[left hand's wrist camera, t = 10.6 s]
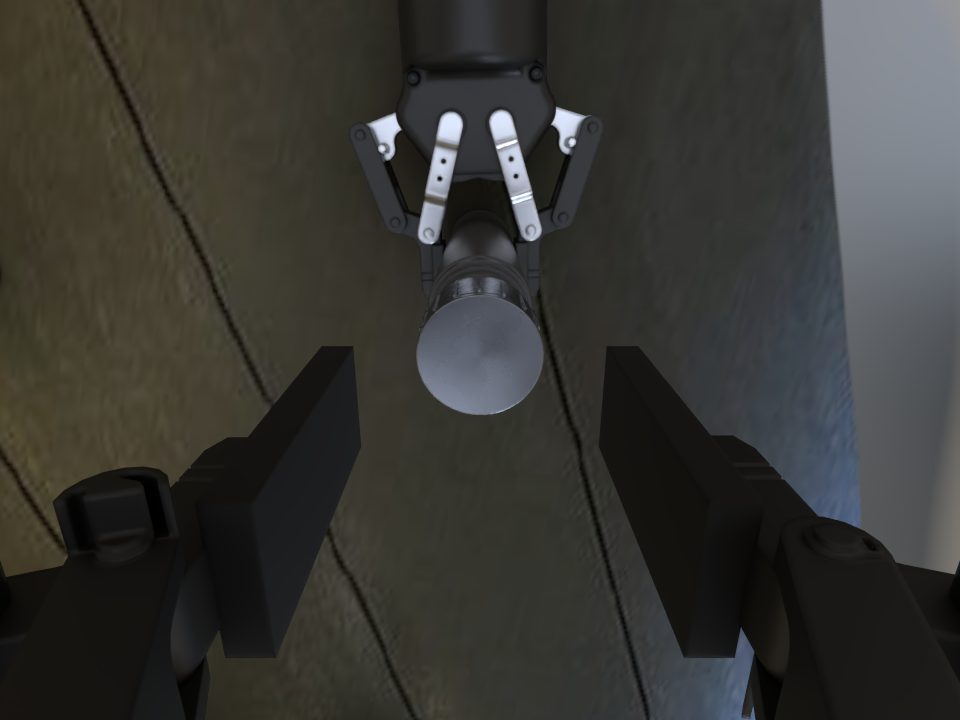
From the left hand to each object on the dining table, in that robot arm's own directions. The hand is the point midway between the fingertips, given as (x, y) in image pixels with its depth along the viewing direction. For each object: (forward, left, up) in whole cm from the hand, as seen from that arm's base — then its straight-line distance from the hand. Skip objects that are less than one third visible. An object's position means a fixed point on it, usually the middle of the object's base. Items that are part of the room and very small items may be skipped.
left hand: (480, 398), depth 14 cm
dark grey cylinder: (0, 0, -27) cm, 27 cm away
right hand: (-1, -2, -20) cm, 21 cm away
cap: (0, 0, -3) cm, 3 cm away
